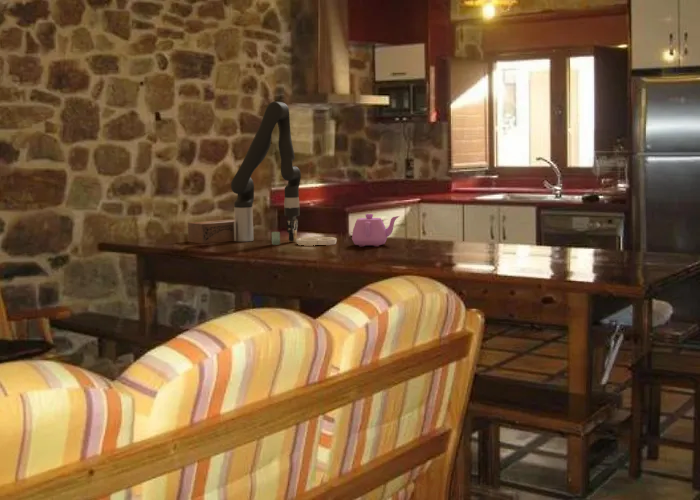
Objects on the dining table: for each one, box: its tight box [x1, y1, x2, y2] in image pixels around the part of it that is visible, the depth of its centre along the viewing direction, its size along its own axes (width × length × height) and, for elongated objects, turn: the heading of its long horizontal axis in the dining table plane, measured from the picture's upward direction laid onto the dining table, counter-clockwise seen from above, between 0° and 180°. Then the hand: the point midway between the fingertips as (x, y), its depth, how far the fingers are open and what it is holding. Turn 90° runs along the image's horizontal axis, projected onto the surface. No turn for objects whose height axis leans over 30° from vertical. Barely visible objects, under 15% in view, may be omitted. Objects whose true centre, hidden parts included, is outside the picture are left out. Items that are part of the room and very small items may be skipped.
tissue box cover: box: [187, 219, 235, 244], centre depth 484 cm, size 26×14×10 cm, turn 128°
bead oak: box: [288, 230, 298, 243], centre depth 469 cm, size 4×4×6 cm
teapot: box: [351, 213, 400, 247], centre depth 445 cm, size 23×21×15 cm
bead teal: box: [271, 231, 281, 246], centre depth 460 cm, size 4×4×6 cm
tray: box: [296, 236, 338, 247], centre depth 459 cm, size 19×19×2 cm
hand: (292, 240), depth 469 cm, fingers open, 5 cm apart
